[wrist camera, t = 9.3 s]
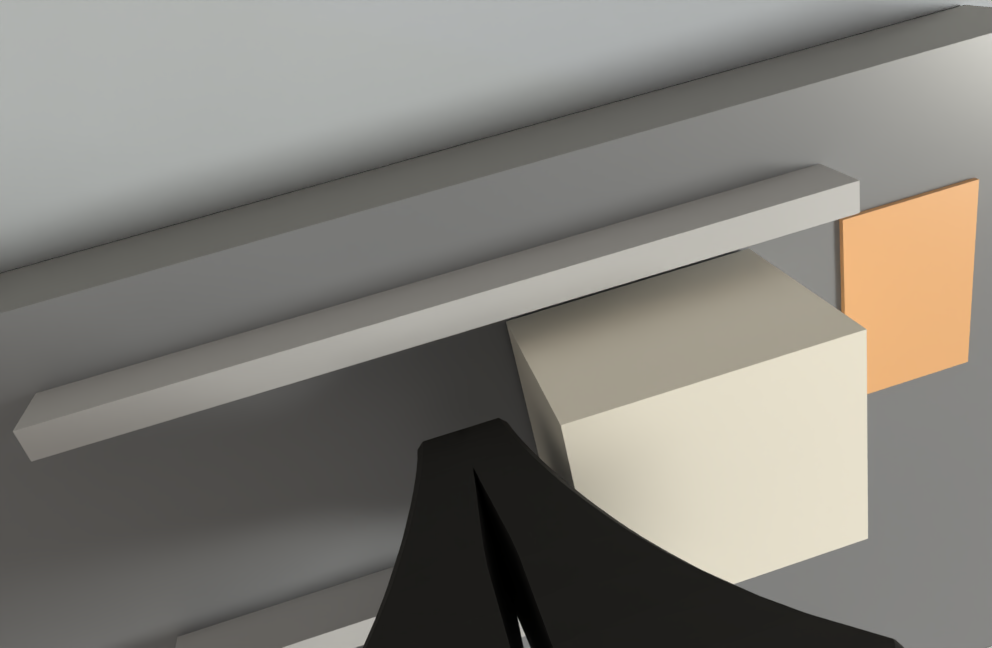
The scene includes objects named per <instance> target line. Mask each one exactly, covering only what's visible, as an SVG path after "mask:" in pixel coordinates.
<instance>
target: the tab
mask: <svg viewBox="0 0 992 648" xmlns="http://www.w3.org/2000/svg"><path fill="white" fill-rule="evenodd" d="M506 324H507V328H508V332H509V336H510V340H511V344H512V348H513V352H514V357H515V361H516V365H517V369H518V373H519V377H520V381H521V385H522V389H523V393H524V397H525V402H526V406H527V410H528V414H529V418H530V422H531V426H532V430H533V434H534V438H535V443H536V447H537V451H538V455H539V458H540V459H541V460H542V461H543V462H545V463H546V464H547V465H548V466H549V467H550V468H551V469H552V470H553V471H554V472H556V473H557V474H558V475H559V476H560V477H562V478H563V479H564V480H565V481H566V482H568V483H569V484H570V485H571V486H572V487H574V488H575V489H576V490H577V491H578V492H580V493H581V494H582V495H583V496H585V497H586V498H587V499H589V500H590V501H591V502H592V503H594V504H595V505H597V506H598V507H599V508H601V509H602V510H603V511H605V512H606V513H608V514H609V515H610V516H612V517H613V518H615V519H616V520H617V521H619V522H620V523H622V524H623V525H625V526H626V527H628V528H629V529H631V530H633V531H634V532H636V533H637V534H639V535H640V536H642V537H644V538H645V539H647V540H649V541H650V542H652V543H654V544H655V545H657V546H659V547H660V548H662V549H664V550H666V551H667V552H669V553H671V554H673V555H675V556H677V557H678V558H680V559H682V560H684V561H686V562H688V563H690V564H691V565H693V566H695V567H697V568H699V569H701V570H703V571H705V572H707V573H710V574H712V575H714V576H716V577H719V578H721V579H723V580H725V581H728V582H730V583H732V584H736V583H739V582H742V581H745V580H748V579H751V578H754V577H756V576H759V575H762V574H765V573H768V572H771V571H774V570H777V569H780V568H783V567H786V566H789V565H792V564H795V563H798V562H801V561H804V560H806V559H809V558H812V557H815V556H818V555H821V554H824V553H827V552H830V551H833V550H836V549H839V548H842V547H845V546H848V545H851V544H854V543H857V542H859V541H862V540H865V539H868V460H867V329H866V328H864V327H863V326H861V325H860V324H858V323H857V322H855V321H854V320H852V319H851V318H849V317H848V316H847V315H845V314H844V313H842V312H841V311H839V310H838V309H836V308H835V307H833V306H832V305H831V304H829V303H828V302H826V301H825V300H823V299H822V298H820V297H819V296H817V295H816V294H814V293H813V292H812V291H810V290H809V289H807V288H806V287H804V286H803V285H801V284H800V283H798V282H797V281H796V280H794V279H793V278H791V277H790V276H788V275H787V274H785V273H784V272H782V271H781V270H780V269H778V268H777V267H775V266H774V265H772V264H771V263H769V262H768V261H766V260H765V259H763V258H762V257H761V256H759V255H758V254H756V253H755V252H753V251H752V250H750V249H745V250H742V251H739V252H735V253H732V254H729V255H725V256H722V257H719V258H716V259H712V260H709V261H706V262H702V263H699V264H696V265H692V266H689V267H686V268H682V269H679V270H676V271H672V272H669V273H666V274H662V275H659V276H656V277H652V278H649V279H646V280H642V281H639V282H636V283H632V284H629V285H626V286H622V287H619V288H616V289H612V290H609V291H606V292H602V293H599V294H596V295H592V296H589V297H586V298H582V299H579V300H576V301H572V302H569V303H566V304H562V305H559V306H556V307H552V308H549V309H546V310H542V311H539V312H536V313H532V314H529V315H526V316H522V317H519V318H516V319H512V320H509V321H506Z"/></svg>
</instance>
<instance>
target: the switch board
mask: <svg viewBox="0 0 992 648" xmlns="http://www.w3.org/2000/svg"><path fill="white" fill-rule="evenodd" d="M745 249H750V250H752V251H753V252H755V253H756V254H758V255H759V256H761V257H762V258H763V259H765V260H766V261H768V262H769V263H771V264H772V265H774V266H775V267H777V268H778V269H780V270H781V271H782V272H784V273H785V274H787V275H788V276H790V277H791V278H793V279H794V280H796V281H797V282H798V283H800V284H801V285H803V286H804V287H806V288H807V289H809V290H810V291H812V292H813V293H814V294H816V295H817V296H819V297H820V298H822V299H823V300H825V301H826V302H828V303H829V304H831V305H832V306H833V307H835V308H836V309H838V310H839V311H841V312H842V313H844V314H845V315H847V316H848V317H849V318H851V319H852V320H854V321H855V322H857V323H858V324H860V325H861V326H863V327H864V328H866V329H867V460H868V539H865V540H862V541H859V542H857V543H854V544H851V545H848V546H845V547H842V548H839V549H836V550H833V551H830V552H827V553H824V554H821V555H818V556H815V557H812V558H809V559H806V560H804V561H801V562H798V563H795V564H792V565H789V566H786V567H783V568H780V569H777V570H774V571H771V572H768V573H765V574H762V575H759V576H756V577H754V578H751V579H748V580H745V581H742V582H739V583H736V584H734V585H736V586H739V587H741V588H743V589H745V590H748V591H750V592H752V593H754V594H756V595H759V596H762V597H764V598H767V599H770V600H772V601H775V602H778V603H780V604H783V605H786V606H789V607H791V608H794V609H797V610H799V611H802V612H805V613H808V614H811V615H814V616H818V617H821V618H825V619H828V620H831V621H835V622H838V623H842V624H845V625H848V626H852V627H855V628H859V629H862V630H866V631H869V632H872V633H876V634H879V635H883V636H886V637H889V638H893V639H895V640H896V641H898V642H899V643H900V644H901V645H902V646H903V647H904V648H988V647H991V646H992V7H982V6H971V5H963V6H959V7H955V8H952V9H948V10H945V11H941V12H937V13H934V14H930V15H927V16H923V17H919V18H916V19H912V20H909V21H905V22H902V23H898V24H894V25H891V26H887V27H884V28H880V29H876V30H873V31H869V32H866V33H862V34H858V35H855V36H851V37H848V38H844V39H840V40H837V41H833V42H830V43H826V44H823V45H819V46H815V47H812V48H808V49H805V50H801V51H797V52H794V53H790V54H787V55H783V56H779V57H776V58H772V59H769V60H765V61H762V62H758V63H754V64H751V65H747V66H744V67H740V68H736V69H733V70H729V71H726V72H722V73H718V74H715V75H711V76H708V77H704V78H700V79H697V80H693V81H690V82H686V83H683V84H679V85H675V86H672V87H668V88H665V89H661V90H657V91H654V92H650V93H647V94H643V95H639V96H636V97H632V98H629V99H625V100H622V101H618V102H614V103H611V104H607V105H604V106H600V107H596V108H593V109H589V110H586V111H582V112H578V113H575V114H571V115H568V116H564V117H560V118H557V119H553V120H550V121H546V122H543V123H539V124H535V125H532V126H528V127H525V128H521V129H517V130H514V131H510V132H507V133H503V134H499V135H496V136H492V137H489V138H485V139H482V140H478V141H474V142H471V143H467V144H464V145H460V146H456V147H453V148H449V149H446V150H442V151H438V152H435V153H431V154H428V155H424V156H420V157H417V158H413V159H410V160H406V161H403V162H399V163H395V164H392V165H388V166H385V167H381V168H377V169H374V170H370V171H367V172H363V173H359V174H356V175H352V176H349V177H345V178H342V179H338V180H334V181H331V182H327V183H324V184H320V185H316V186H313V187H309V188H306V189H302V190H298V191H295V192H291V193H288V194H284V195H280V196H277V197H273V198H270V199H266V200H263V201H259V202H255V203H252V204H248V205H245V206H241V207H237V208H234V209H230V210H227V211H223V212H219V213H216V214H212V215H209V216H205V217H201V218H198V219H194V220H191V221H187V222H184V223H180V224H176V225H173V226H169V227H166V228H162V229H158V230H155V231H151V232H148V233H144V234H140V235H137V236H133V237H130V238H126V239H123V240H119V241H115V242H112V243H108V244H105V245H101V246H97V247H94V248H90V249H87V250H83V251H79V252H76V253H72V254H69V255H65V256H61V257H58V258H54V259H51V260H47V261H44V262H40V263H36V264H33V265H29V266H26V267H22V268H18V269H15V270H11V271H8V272H4V273H0V648H363V646H364V643H365V641H366V639H367V637H368V634H369V632H370V630H371V627H372V625H373V623H374V620H375V618H376V615H377V613H378V610H379V608H380V605H381V603H382V600H383V597H384V595H385V592H386V589H387V586H388V583H389V580H390V577H391V574H392V571H393V568H394V565H395V561H396V558H397V555H398V552H399V549H400V546H401V542H402V539H403V534H404V530H405V526H406V522H407V518H408V514H409V510H410V506H411V501H412V495H413V490H414V484H415V478H416V470H417V450H418V448H419V447H420V445H421V444H422V442H423V441H426V440H429V439H432V438H435V437H439V436H442V435H445V434H448V433H451V432H455V431H458V430H461V429H464V428H467V427H471V426H474V425H477V424H480V423H483V422H486V421H490V420H493V419H496V418H500V419H502V420H504V421H506V422H508V424H509V425H510V426H511V428H512V429H513V430H514V431H515V433H516V434H517V435H518V436H519V437H520V438H521V439H522V441H523V442H524V443H525V444H526V445H527V446H528V447H529V448H530V449H531V450H532V451H533V452H534V453H535V454H536V455H537V456H538V457H539V455H538V451H537V447H536V443H535V438H534V434H533V430H532V426H531V422H530V418H529V414H528V410H527V406H526V402H525V397H524V393H523V389H522V385H521V381H520V377H519V373H518V369H517V365H516V361H515V357H514V352H513V348H512V344H511V340H510V336H509V332H508V328H507V324H506V321H509V320H512V319H516V318H519V317H522V316H526V315H529V314H532V313H536V312H539V311H542V310H546V309H549V308H552V307H556V306H559V305H562V304H566V303H569V302H572V301H576V300H579V299H582V298H586V297H589V296H592V295H596V294H599V293H602V292H606V291H609V290H612V289H616V288H619V287H622V286H626V285H629V284H632V283H636V282H639V281H642V280H646V279H649V278H652V277H656V276H659V275H662V274H666V273H669V272H672V271H676V270H679V269H682V268H686V267H689V266H692V265H696V264H699V263H702V262H706V261H709V260H712V259H716V258H719V257H722V256H725V255H729V254H732V253H735V252H739V251H742V250H745ZM518 622H519V619H518ZM519 627H520V632H521V637H522V642H523V647H524V648H530V645H529V643H528V641H527V638H526V636H525V633H524V631H523V629H522V626H521V624H520V622H519Z"/></svg>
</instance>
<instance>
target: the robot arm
mask: <svg viewBox="0 0 992 648" xmlns="http://www.w3.org/2000/svg"><path fill="white" fill-rule="evenodd" d="M518 619H519V622H520V624H521V626H522V629H523V631H524V633H525V636H526V638H527V641H528V643H529V645H530V648H904V647H903V646H902V645H901V644H900V643H899V642H898V641H896V640H895V639H893V638H889V637H886V636H883V635H879V634H876V633H872V632H869V631H866V630H862V629H859V628H855V627H852V626H848V625H845V624H842V623H838V622H835V621H831V620H828V619H825V618H821V617H818V616H814V615H811V614H808V613H805V612H802V611H799V610H797V609H794V608H791V607H789V606H786V605H783V604H780V603H778V602H775V601H772V600H770V599H767V598H764V597H762V596H759V595H756V594H754V593H752V592H750V591H748V590H745V589H743V588H741V587H739V586H736V585H734V584H732V583H730V582H728V581H725V580H723V579H721V578H719V577H716V576H714V575H712V574H710V573H707V572H705V571H703V570H701V569H699V568H697V567H695V566H693V565H691V564H690V563H688V562H686V561H684V560H682V559H680V558H678V557H677V556H675V555H673V554H671V553H669V552H667V551H666V550H664V549H662V548H660V547H659V546H657V545H655V544H654V543H652V542H650V541H649V540H647V539H645V538H644V537H642V536H640V535H639V534H637V533H636V532H634V531H633V530H631V529H629V528H628V527H626V526H625V525H623V524H622V523H620V522H619V521H617V520H616V519H615V518H613V517H612V516H610V515H609V514H608V513H606V512H605V511H603V510H602V509H601V508H599V507H598V506H597V505H595V504H594V503H592V502H591V501H590V500H589V499H587V498H586V497H585V496H583V495H582V494H581V493H580V492H578V491H577V490H576V489H575V488H574V487H572V486H571V485H570V484H569V483H568V482H566V481H565V480H564V479H563V478H562V477H560V476H559V475H558V474H557V473H556V472H554V471H553V470H552V469H551V468H550V467H549V466H548V465H547V464H546V463H545V462H543V461H542V460H541V459H540V458H539V457H538V456H537V455H536V454H535V453H534V452H533V451H532V450H531V449H530V448H529V447H528V446H527V445H526V444H525V443H524V442H523V441H522V439H521V438H520V437H519V436H518V435H517V434H516V433H515V431H514V430H513V429H512V428H511V426H510V425H509V424H508V422H506V421H504V420H502V419H500V418H496V419H493V420H490V421H486V422H483V423H480V424H477V425H474V426H471V427H467V428H464V429H461V430H458V431H455V432H451V433H448V434H445V435H442V436H439V437H435V438H432V439H429V440H426V441H423V442H422V444H421V445H420V447H419V448H418V450H417V470H416V478H415V484H414V490H413V495H412V501H411V506H410V510H409V514H408V518H407V522H406V526H405V530H404V534H403V539H402V542H401V546H400V549H399V552H398V555H397V558H396V561H395V565H394V568H393V571H392V574H391V577H390V580H389V583H388V586H387V589H386V592H385V595H384V597H383V600H382V603H381V605H380V608H379V610H378V613H377V615H376V618H375V620H374V623H373V625H372V627H371V630H370V632H369V634H368V637H367V639H366V641H365V643H364V646H363V648H524V647H523V642H522V637H521V632H520V627H519V622H518Z"/></svg>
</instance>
